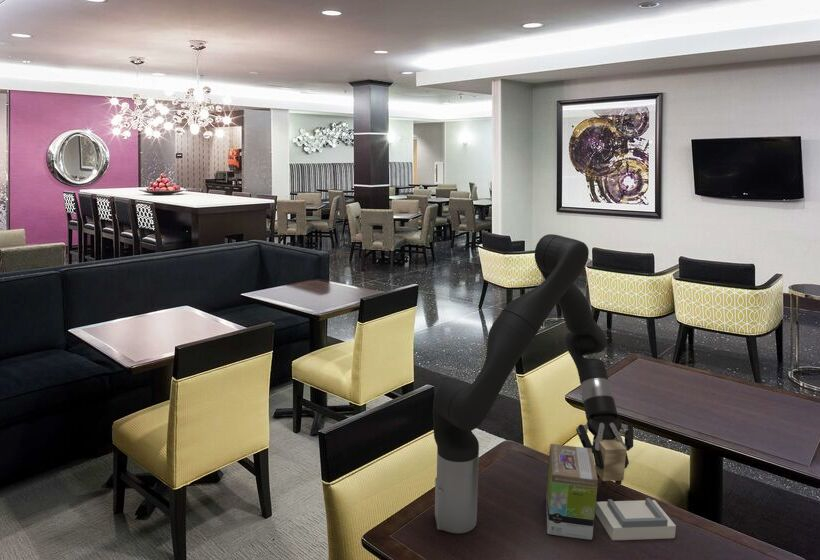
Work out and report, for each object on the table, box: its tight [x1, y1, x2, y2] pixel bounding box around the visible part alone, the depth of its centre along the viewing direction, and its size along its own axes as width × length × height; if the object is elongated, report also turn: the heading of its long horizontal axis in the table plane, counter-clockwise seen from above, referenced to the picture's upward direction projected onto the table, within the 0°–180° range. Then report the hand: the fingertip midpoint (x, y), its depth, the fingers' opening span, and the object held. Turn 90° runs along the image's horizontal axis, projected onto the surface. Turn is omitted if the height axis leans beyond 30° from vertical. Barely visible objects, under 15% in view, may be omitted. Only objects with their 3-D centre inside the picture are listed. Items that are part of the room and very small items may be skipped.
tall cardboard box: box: [595, 439, 626, 486], centre depth 142 cm, size 5×5×9 cm
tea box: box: [545, 443, 599, 541], centre depth 136 cm, size 15×10×15 cm
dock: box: [595, 497, 677, 541], centre depth 134 cm, size 14×10×4 cm
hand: (613, 467), depth 141 cm, fingers closed on tall cardboard box, 5 cm apart
